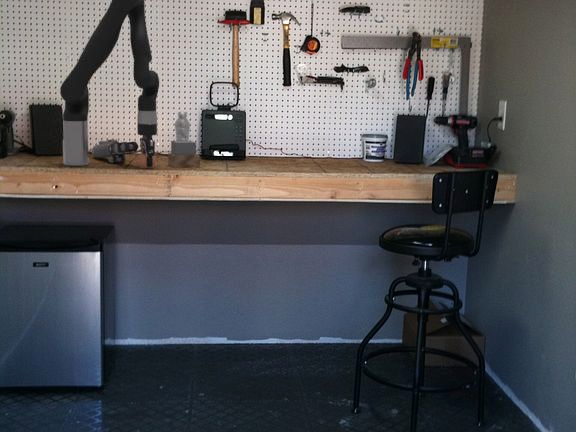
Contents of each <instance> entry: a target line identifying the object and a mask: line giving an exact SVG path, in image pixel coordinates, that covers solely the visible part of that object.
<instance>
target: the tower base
mask: <svg viewBox="0 0 576 432" xmlns="http://www.w3.org/2000/svg"><path fill="white" fill-rule="evenodd" d="M167 155H168V157H167V159H168V160H167V161H168V162H167V165H168V166H169V167H171V166H172V168H175V169H188V168H189V169H191V168H190V167H201V164H200V163H201V162H200V161H201V156H200V155H199V154H197V153H196V155H184V156H176V155H174V154H171V152H168V153H167Z"/></svg>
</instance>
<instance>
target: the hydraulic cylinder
mask: <svg viewBox="0 0 576 432" xmlns="http://www.w3.org/2000/svg"><path fill="white" fill-rule="evenodd" d="M139 147H140V146H139V144H138V142H137V141H128V142H127V141H121V142H120V141H118V140H117V139H112V138H111V139H107V140H100V141H98V144H96V145H94V146H93V147H92V148H91V154H92V156H93V157H94V158H96V159H105V158H107V159H108V162H109V163H110V164H112V165H113V164H116V163H117V162H118V163H120V164H124V163H125V162H126V161H128V160H127V156H126V154H127V153H135V152H137V151H138V150H139Z"/></svg>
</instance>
